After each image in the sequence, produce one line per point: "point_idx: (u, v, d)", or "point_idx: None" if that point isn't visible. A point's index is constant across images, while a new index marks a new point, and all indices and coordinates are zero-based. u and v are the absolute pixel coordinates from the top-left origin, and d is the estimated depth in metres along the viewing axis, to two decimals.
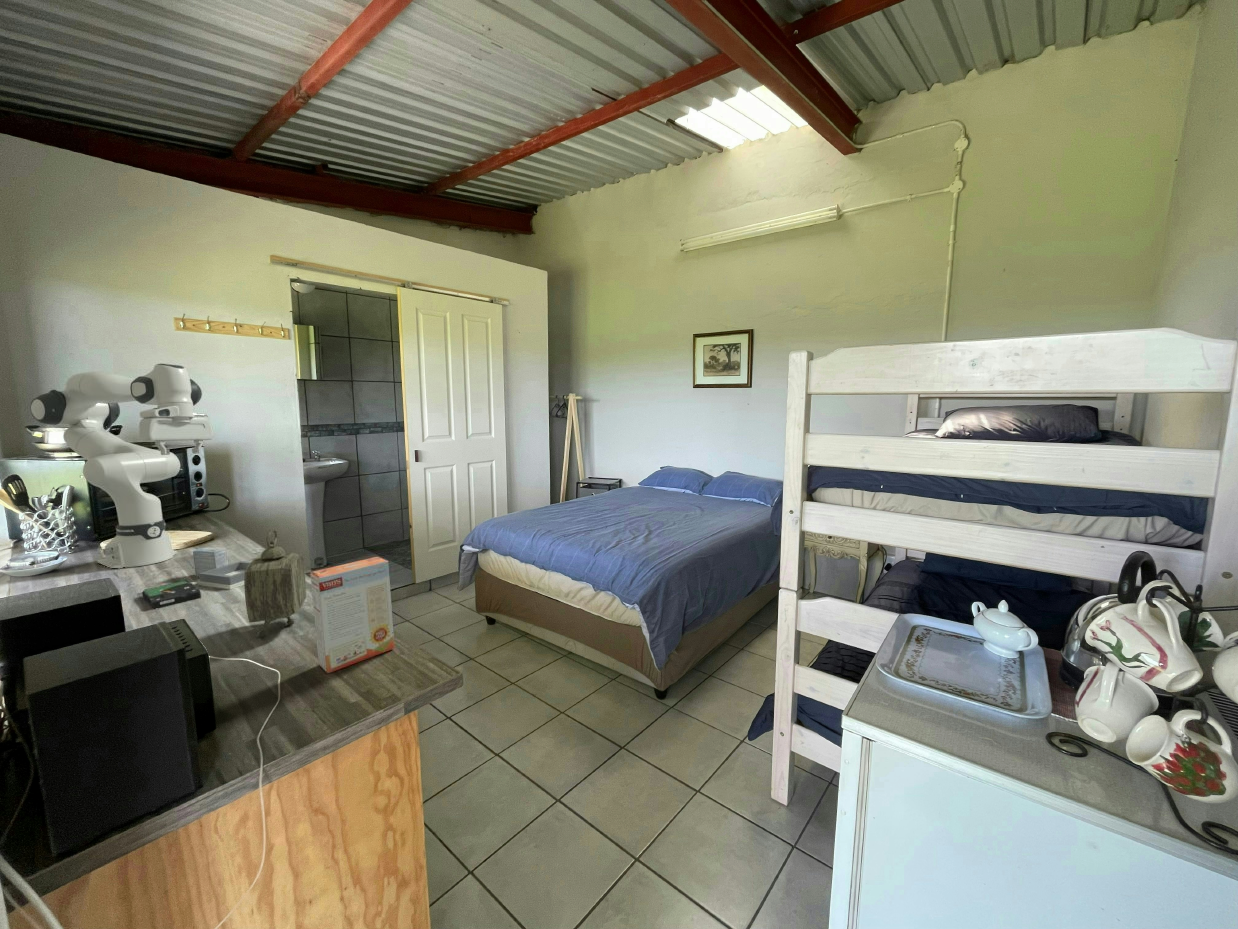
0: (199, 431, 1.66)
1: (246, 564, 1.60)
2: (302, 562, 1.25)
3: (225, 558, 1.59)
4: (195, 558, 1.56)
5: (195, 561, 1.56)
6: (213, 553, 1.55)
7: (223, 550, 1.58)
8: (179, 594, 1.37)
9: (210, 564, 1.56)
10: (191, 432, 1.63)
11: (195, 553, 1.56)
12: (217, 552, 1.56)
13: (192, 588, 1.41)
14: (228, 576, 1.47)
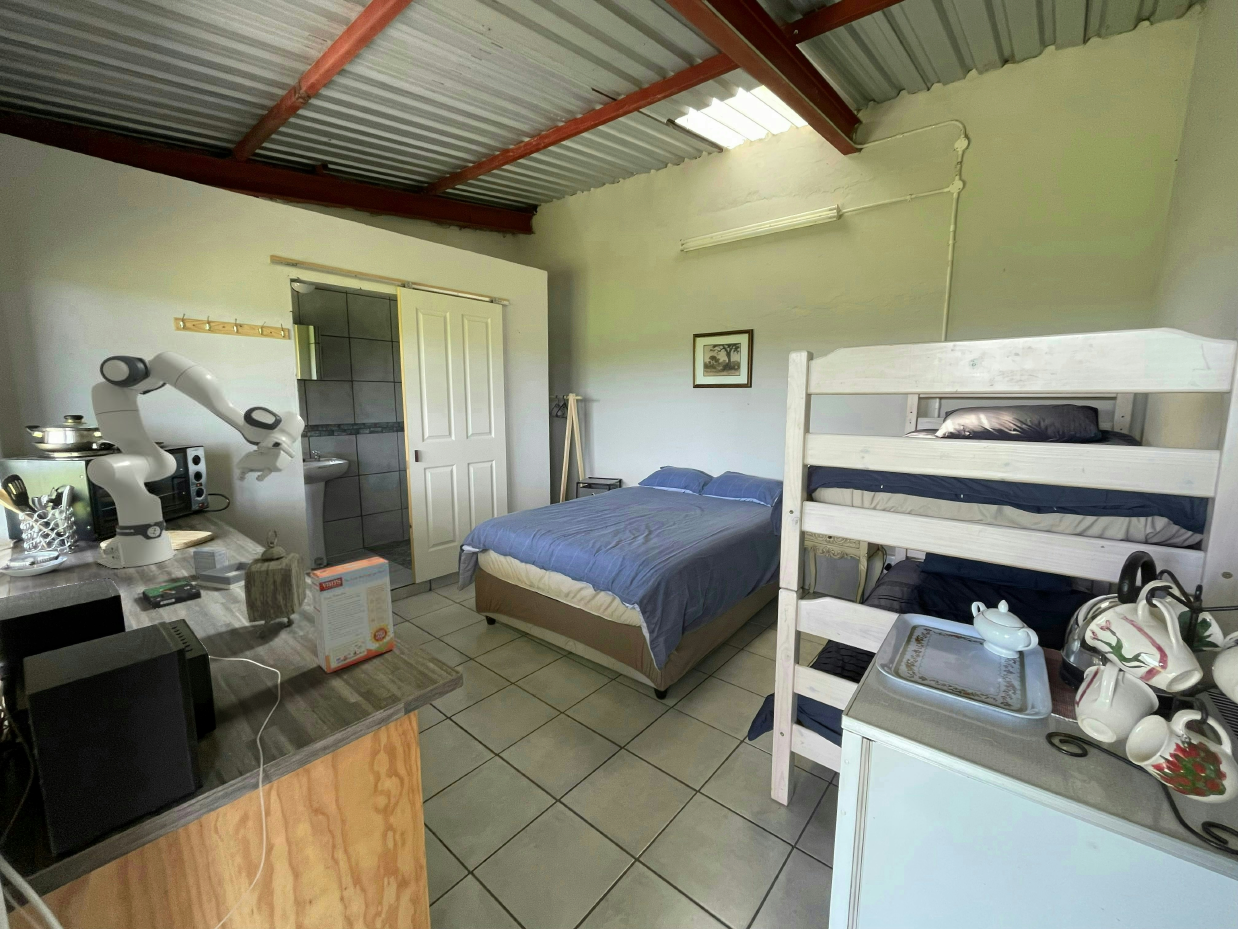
0: None
1: (246, 564, 1.60)
2: (302, 562, 1.25)
3: (225, 558, 1.59)
4: (195, 558, 1.56)
5: (195, 561, 1.56)
6: (213, 553, 1.55)
7: (223, 550, 1.58)
8: (179, 594, 1.37)
9: (210, 564, 1.56)
10: None
11: (195, 553, 1.56)
12: (217, 552, 1.56)
13: (192, 588, 1.41)
14: (228, 576, 1.47)
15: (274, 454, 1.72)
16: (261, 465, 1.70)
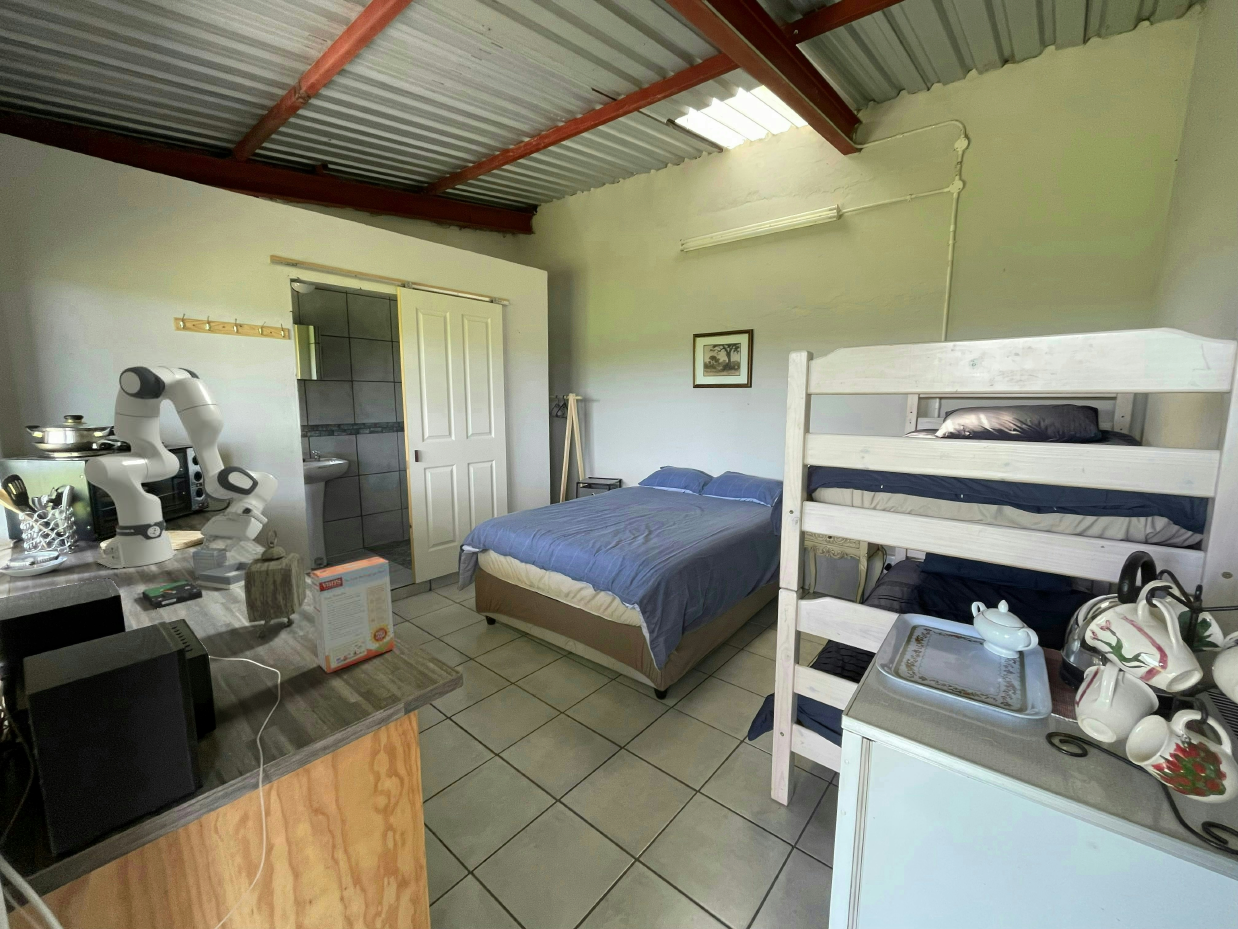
0: None
1: (246, 564, 1.60)
2: (302, 562, 1.25)
3: (225, 558, 1.58)
4: (194, 559, 1.55)
5: (194, 562, 1.56)
6: (213, 554, 1.55)
7: (223, 550, 1.58)
8: (181, 594, 1.37)
9: (210, 565, 1.55)
10: None
11: (194, 554, 1.55)
12: (217, 552, 1.56)
13: (193, 587, 1.42)
14: (228, 576, 1.47)
15: (244, 521, 1.62)
16: (229, 534, 1.59)
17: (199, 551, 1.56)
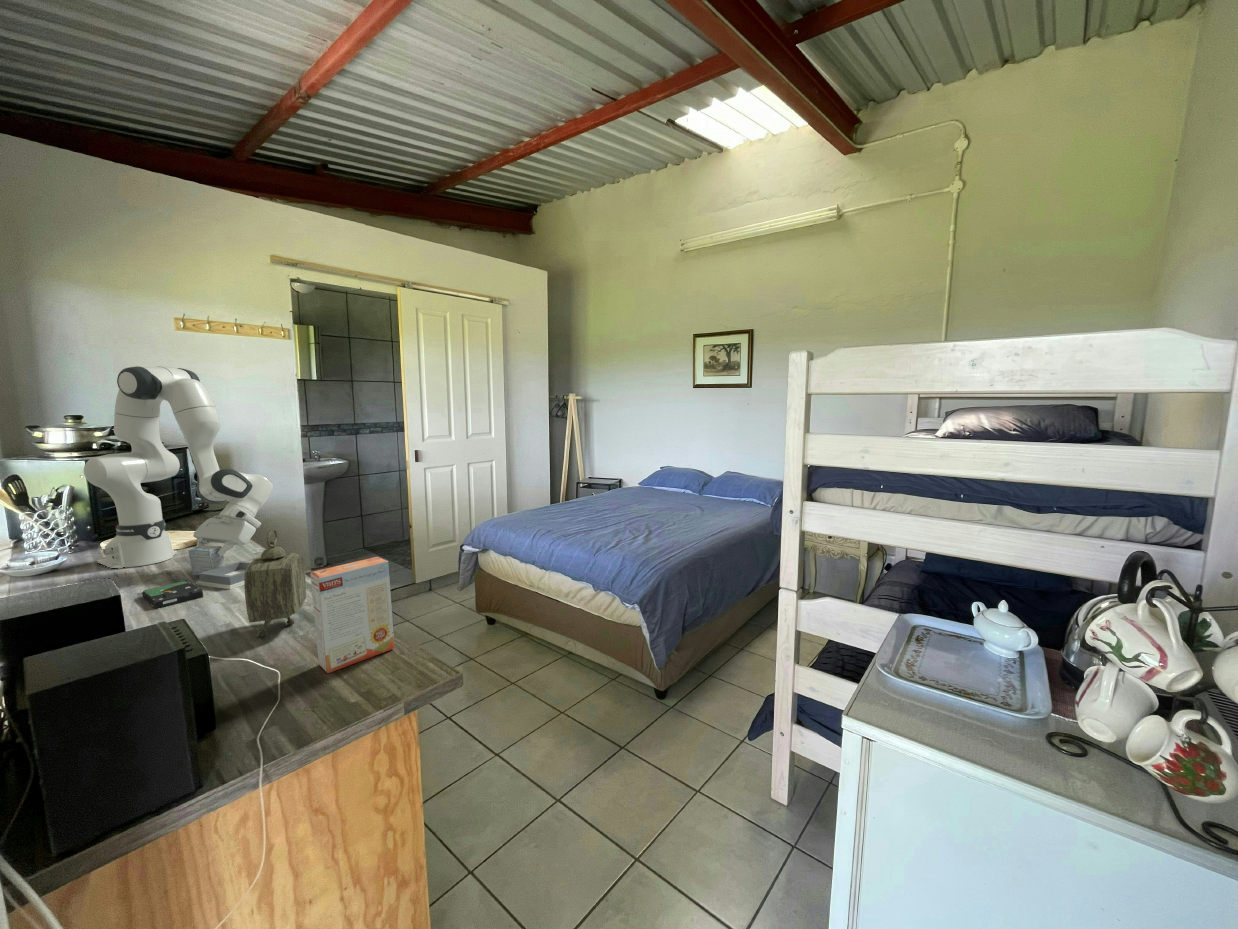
0: None
1: (246, 564, 1.60)
2: (302, 562, 1.25)
3: (221, 556, 1.58)
4: (191, 557, 1.55)
5: (191, 560, 1.55)
6: (208, 552, 1.54)
7: (219, 548, 1.57)
8: (181, 594, 1.37)
9: (206, 563, 1.55)
10: None
11: (190, 552, 1.55)
12: (213, 550, 1.55)
13: (194, 587, 1.42)
14: (228, 576, 1.47)
15: (237, 525, 1.60)
16: (222, 537, 1.58)
17: (195, 549, 1.55)
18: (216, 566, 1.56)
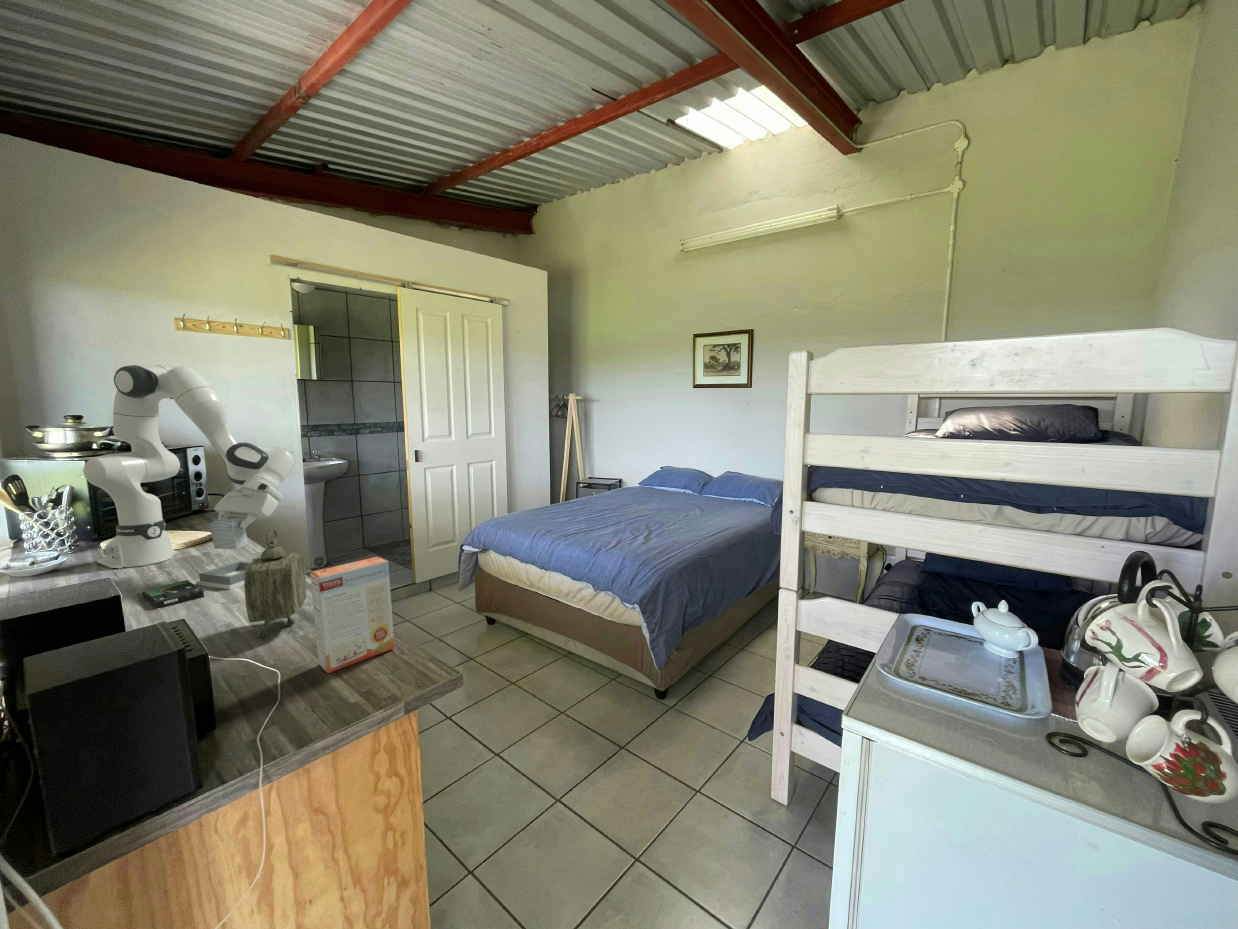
0: None
1: (246, 564, 1.60)
2: (302, 562, 1.25)
3: (243, 530, 1.52)
4: (212, 530, 1.50)
5: (213, 533, 1.50)
6: (230, 524, 1.48)
7: None
8: (182, 593, 1.37)
9: (228, 536, 1.49)
10: None
11: (212, 525, 1.49)
12: (235, 523, 1.49)
13: (194, 587, 1.42)
14: (228, 576, 1.47)
15: (259, 497, 1.55)
16: (244, 510, 1.52)
17: (217, 522, 1.50)
18: (238, 539, 1.51)
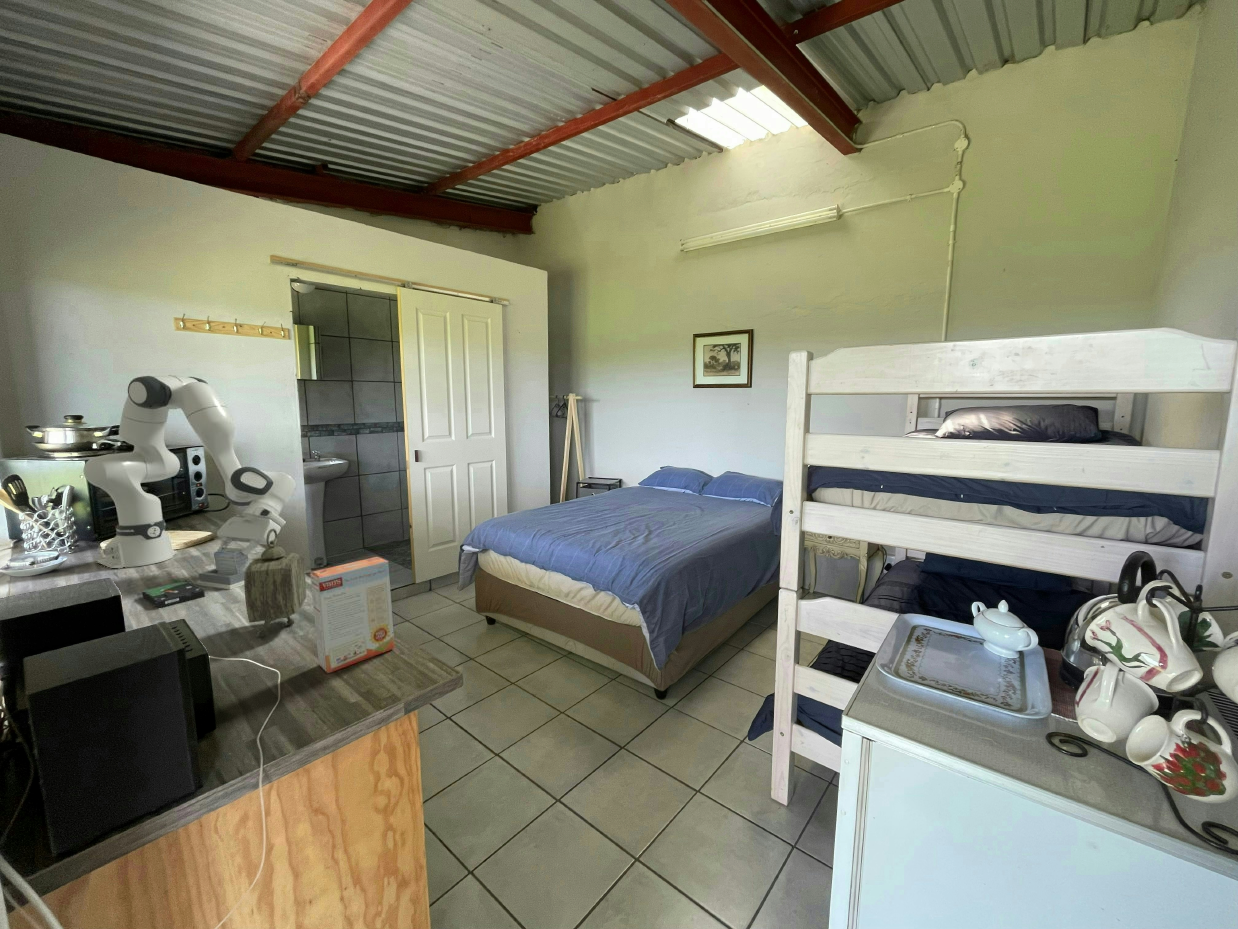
0: None
1: None
2: (302, 562, 1.25)
3: (246, 559, 1.53)
4: (216, 560, 1.51)
5: (216, 563, 1.51)
6: (233, 555, 1.50)
7: None
8: (183, 593, 1.37)
9: (231, 566, 1.51)
10: None
11: (216, 555, 1.51)
12: (237, 553, 1.51)
13: (195, 587, 1.42)
14: (228, 576, 1.47)
15: (262, 523, 1.56)
16: (247, 536, 1.54)
17: (220, 552, 1.51)
18: (241, 570, 1.52)
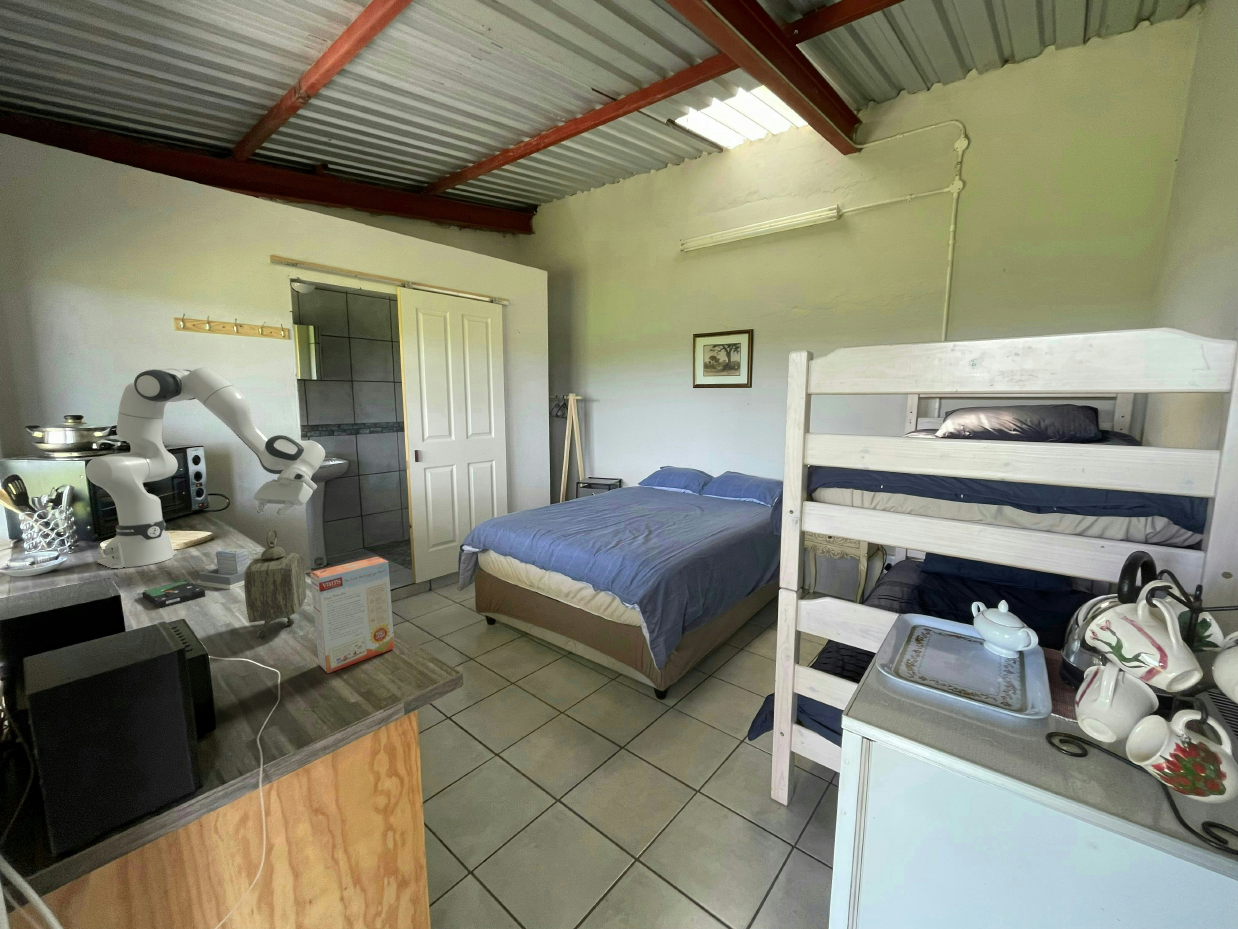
0: None
1: None
2: (302, 562, 1.25)
3: (247, 560, 1.54)
4: (218, 559, 1.52)
5: (218, 562, 1.52)
6: (234, 554, 1.50)
7: (245, 551, 1.53)
8: (184, 593, 1.37)
9: (232, 566, 1.51)
10: None
11: (218, 554, 1.52)
12: (239, 553, 1.51)
13: (195, 587, 1.42)
14: (228, 576, 1.47)
15: (296, 486, 1.67)
16: (282, 498, 1.65)
17: (222, 551, 1.52)
18: (241, 570, 1.52)
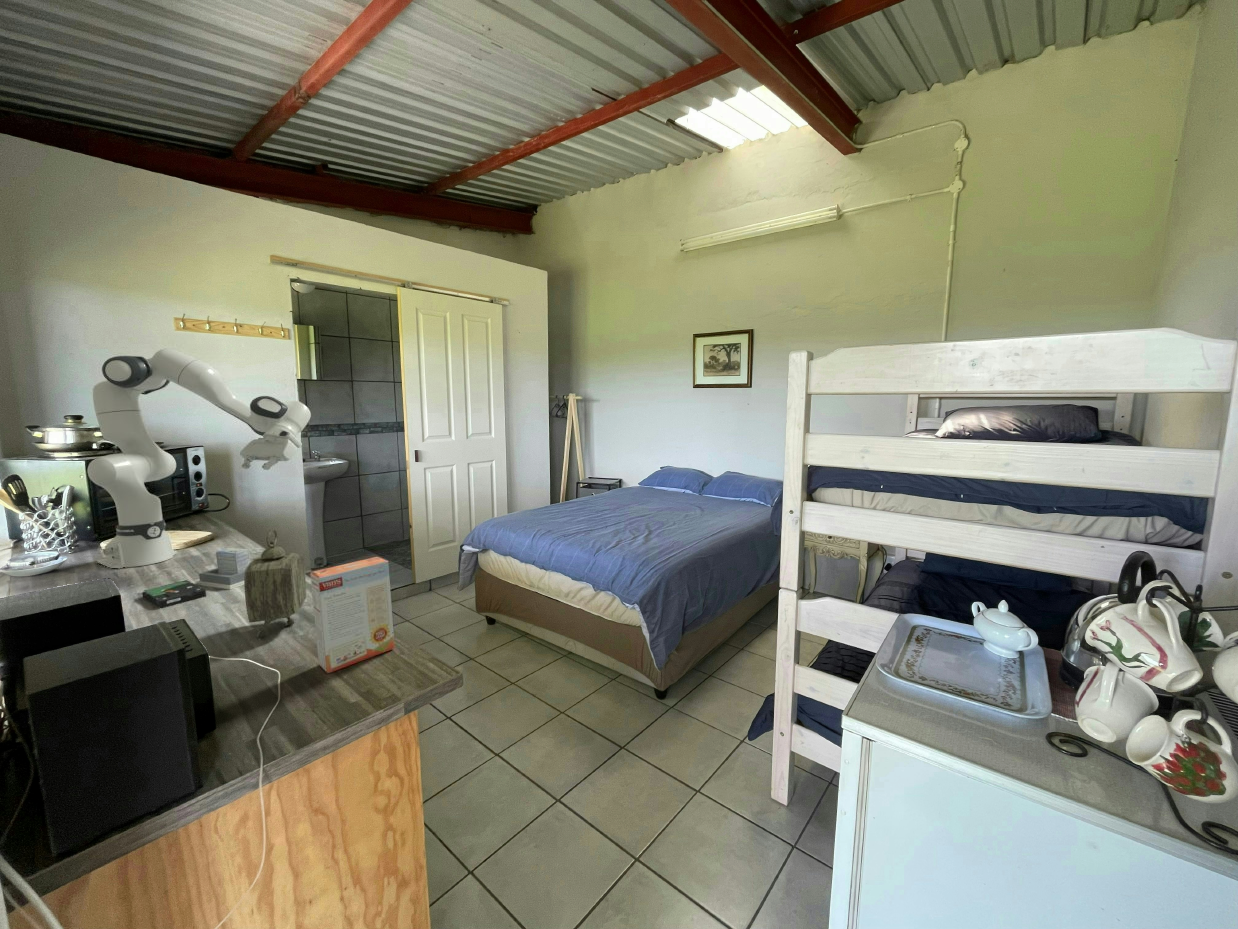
0: None
1: None
2: (302, 562, 1.25)
3: (247, 560, 1.54)
4: (218, 559, 1.52)
5: (218, 562, 1.52)
6: (234, 554, 1.50)
7: (245, 551, 1.53)
8: (184, 593, 1.37)
9: (232, 566, 1.51)
10: None
11: (218, 554, 1.52)
12: (239, 553, 1.51)
13: (196, 587, 1.42)
14: (228, 576, 1.47)
15: (281, 443, 1.72)
16: (267, 453, 1.69)
17: (222, 551, 1.52)
18: (241, 570, 1.52)
